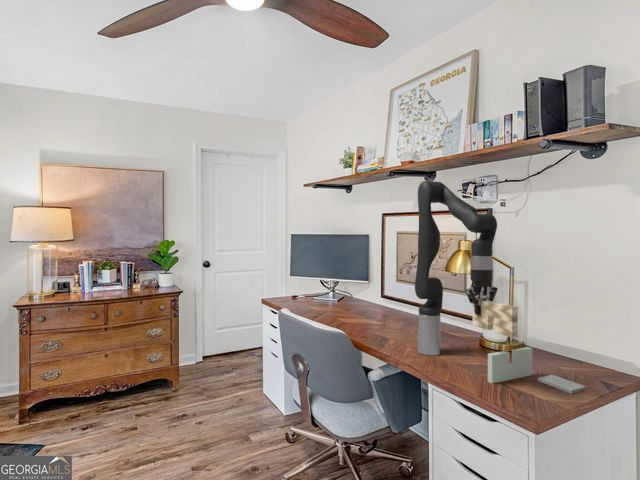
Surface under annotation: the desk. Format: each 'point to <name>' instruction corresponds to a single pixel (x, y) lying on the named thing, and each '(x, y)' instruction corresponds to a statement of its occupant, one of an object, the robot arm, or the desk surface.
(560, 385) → the hard drive
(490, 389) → the desk surface
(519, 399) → the desk surface
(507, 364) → the slotted plate
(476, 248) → the robot arm
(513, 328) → the pale wooden plank
